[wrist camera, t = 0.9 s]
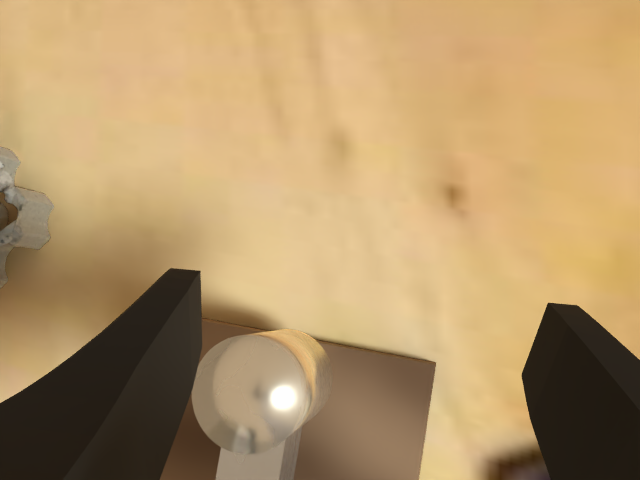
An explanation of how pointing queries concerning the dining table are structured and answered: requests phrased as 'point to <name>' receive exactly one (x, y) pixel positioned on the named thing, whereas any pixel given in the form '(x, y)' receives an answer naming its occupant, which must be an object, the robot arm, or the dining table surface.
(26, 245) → the grey rocky ruin
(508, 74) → the dining table surface
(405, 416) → the block
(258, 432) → the grey mallet
